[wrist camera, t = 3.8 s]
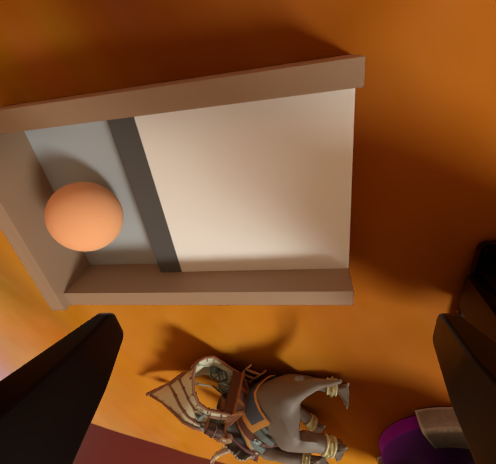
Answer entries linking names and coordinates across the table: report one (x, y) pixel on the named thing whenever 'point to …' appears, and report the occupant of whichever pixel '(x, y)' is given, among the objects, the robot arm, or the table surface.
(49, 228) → the ball
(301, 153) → the shallow open tray
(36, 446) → the robot arm
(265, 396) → the figurine
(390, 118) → the table surface
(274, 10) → the table surface
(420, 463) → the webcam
